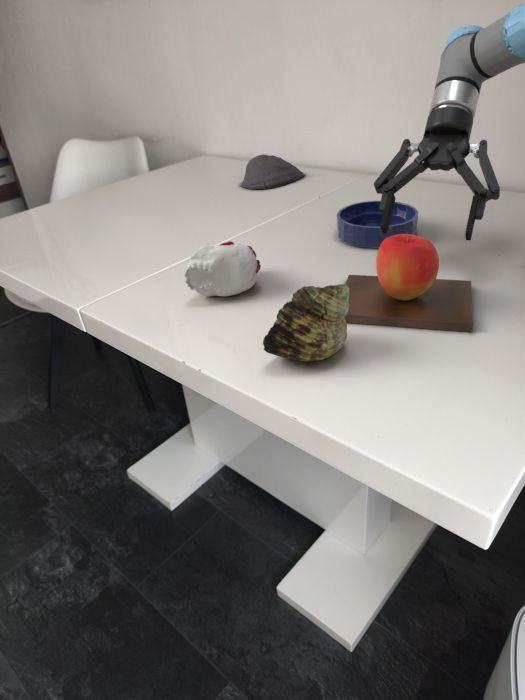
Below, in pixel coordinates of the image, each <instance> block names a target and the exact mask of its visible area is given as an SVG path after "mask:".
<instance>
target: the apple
mask: <svg viewBox="0 0 525 700" xmlns="http://www.w3.org/2000/svg"><path fill="white" fill-rule="evenodd" d="M375 259H376V260H375V269H376V270H375V271H376V276H378V279H379V282H380V284H381V286H382V288H383V289H384V291H385V292H386V293H387V294H388V295H390V296H391V297H393V298H395V299H397V300H403V301H407V300H411V299H414V298H416V297H418V296H420V295H422V294H423V293H425V292H426V291H427V290H428V289H429V288H430V287H431V286H432V285H433V283H434V281H435V279H437V277H438V273H439V270H440V256H439V253H438V250H437V248H436V246H435V245H434V243H433V242H432V241H431V240H429V239H428V238H425V237H423V236H419V235H412V234H398V235H393V236H390V237H387V238H385V239H384V240H383V242H382V243H381V245H380V247H379V248H378V250H377V255H376V258H375Z"/></svg>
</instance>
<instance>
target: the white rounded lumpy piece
mask: <svg viewBox="0 0 525 700" xmlns="http://www.w3.org/2000/svg"><path fill="white" fill-rule="evenodd" d="M260 263H261V262H260V260H259V259H257V253H256V251H255V250H254V249H253V247H252V246H251V245H243V244H235V243H234V242H233V241H231V240H229V241H226V242H222V243H220V244H219V245H216V244H215V245H214V244H209V243H207V244H206V245H203V246H201V247H199V248H197V249H196V250H195V251H194V252H193V254H191V256H190V262H189V263H188V264H185V267H184V277H185V284H186V286H187V288H189V289H190V291H194V292H196V293H198V294H200V295H202V296H205V297H216V296H218V297H231V296H235V295H238V294H241V293H243V292H246V291H248V290H251V289H253V287H254V285H255V284H256V282H257V280H258V274H259V271H260V270H261V267H262V265H261V264H260Z"/></svg>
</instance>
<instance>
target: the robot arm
mask: <svg viewBox="0 0 525 700" xmlns="http://www.w3.org/2000/svg"><path fill="white" fill-rule="evenodd" d="M522 64H525V3H521V4H519V5H518V6H516V7H514V9H512V10H511V11H510V12H507V13H506V14H505V15H503V16H501V17H499V18H498V19H496V20H494V22H492V23H490V24H488V25H487V26H485V27H482V26H480V25H477V24H468V25H467V26H459V27H457V28H456V29H454V30H453V31H452V32H451V33H450V34H449V35H448V37H447V39H446V41H445V45H444V48H443V51H442V53H441V56H440V62H439V68H438V72H437V76H436V81H435V85H434V90H433V95H432V99H431V102H430V106H429V111H428V116H427V119H426V124H425V128H424V132H423V137H422V139H421V140H420V142H411V140H410V139H409V138H405V139H403V140H402V143H401V146H400V149H399V151H398V152H397V153H396V154H395V156H394V157H393V158H392V159H391V161H390V162H389V163H388V164H387V165H386V167H385V168H384V169H383V170H382V172H381V173H380V175H378V176H377V178H376V179H375V180H374V182H373V187H374V189H375V192H376V194H379V195H380V194H381V197H380V201H381V202H380V206H379V208H380V211H381V213H383V217H382V221H381V225H380V227H381V229H382V232H383V233H386V234H387V233H388V229H389V225H390V221H391V216H392V212H393V208H394V204H395V202H396V196H395V194H396V193H398V192H399V191H400V190H401V189H402V188H403V187H405V186H406V185H407V184H408V183H410V182H411V181H412V180H413V179H414V178H416V177H417V176H418V175H419V174H423V173H424V172H425V171H427V169H430V171H444V172H450V170H452V169H454V170H455V171H456V173H457V174H458V175H460V177H461V178H462V180H463V181H464V183H465V184H466V185H467V187H468V188H469V190H470V191H471V192H472V194H473V195H472V198H471V199H472V200H471V204H470V208H469V212H468V213H469V214H468V218H467V223H466V227H465V233H464V236H465V237H464V238H465V241H472V237H473V231H474V227H475V222H476V221H477V220H478V221H481V220H482V219H484V213H485V209H486V205H487V203H488V201H491V200H494V201H498V200H499V199H500V195H501V187H500V184H499V181H498V179H497V176H496V174H495V171H494V169H493V168H494V167H493V166H492V163H491V160H490V158H489V154H488V141H487V139H482V140H480V141H479V143H470V139H471V135H472V130H473V125H474V119H475V116H476V111H477V106H478V102H479V98H480V95H481V89H482V85H483V83H484V82H485V81H488V80H490V79H492V78H494V77H496V76H498V75H499V74H502V73H504V72H506V71H508V70H510V69H513V68H514V67H516V66H519V65H522ZM417 152H418V155H417V156H416V157H415V158H414V159H413V161H412V162H411V163H410V164H408V165H407V166H406V167H405V168H403V167H404V166H405V164H406V163H407V162H408V160H409V159H410V158H411V157H413V155H414V154H415V153H417ZM470 154H473V157H474V158H475V159H478V163H479V167H480V169H481V173H482V175H483V178H484V180H485V183H486V186H487V187H485V186H484V185H483V183H482V182H481V181H480V179H479V178H478V176H476V174H475V172H474V171H473V170H472V168H471V167H470V166H469V164H468V163H467V161H466V157H468V156H469V155H470ZM402 168H403V169H402Z"/></svg>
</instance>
